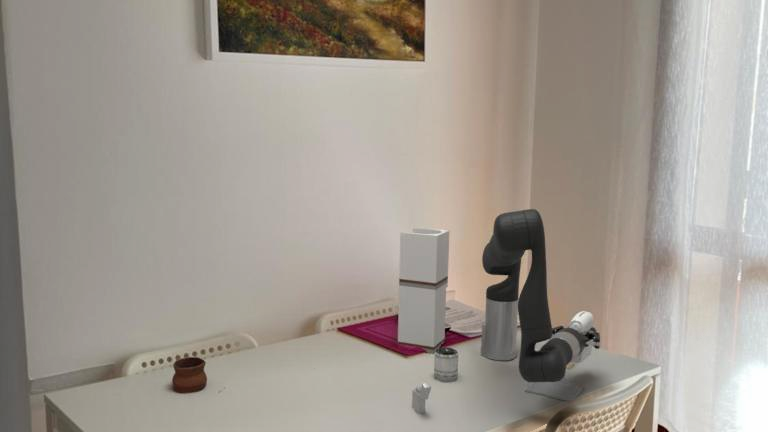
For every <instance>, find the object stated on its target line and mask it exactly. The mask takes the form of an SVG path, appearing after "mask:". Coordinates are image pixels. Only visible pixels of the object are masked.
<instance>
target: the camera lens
mask: <svg viewBox="0 0 768 432" xmlns="http://www.w3.org/2000/svg"><path fill="white" fill-rule="evenodd" d="M433 369H434V370H433V372H434V378H435V379H436V380H437V381H439V382H443V383H448V382H449V383H450V382H451V383H452V382H455V381H456V380H457V377H458V373H459V352H458V351H457V350H456V349H454V348H452V347H441V348H440V349H437V350H436V351H435V353H434V367H433Z"/></svg>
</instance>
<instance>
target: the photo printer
mask: <svg viewBox="0 0 768 432" xmlns="http://www.w3.org/2000/svg"><path fill="white" fill-rule="evenodd" d="M594 322H595V318H594V316H593V314H592V313H591V312H589V311H584V310H583V311H582V310H581V311H580V312H578V313H576V314H575V315H574V316H573V317H572V319H571V321H570V323H569V326H570V328H572V329H575V330H577V331H578V332H581V331H582V332H583V331H589V330H590V329H591V328H592V327H593V328H594ZM592 348H593V345H589V346H588V347H584V349H583V351H582V352H581V353H580V354H579V355H578V356H577V357H576V358H575V359H574V360H573V361H572V362H573V364H580V363H583V362H584V361H585V360H586V359H587V358H589V356H590V355H591V354H592V350H593V349H592Z"/></svg>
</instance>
